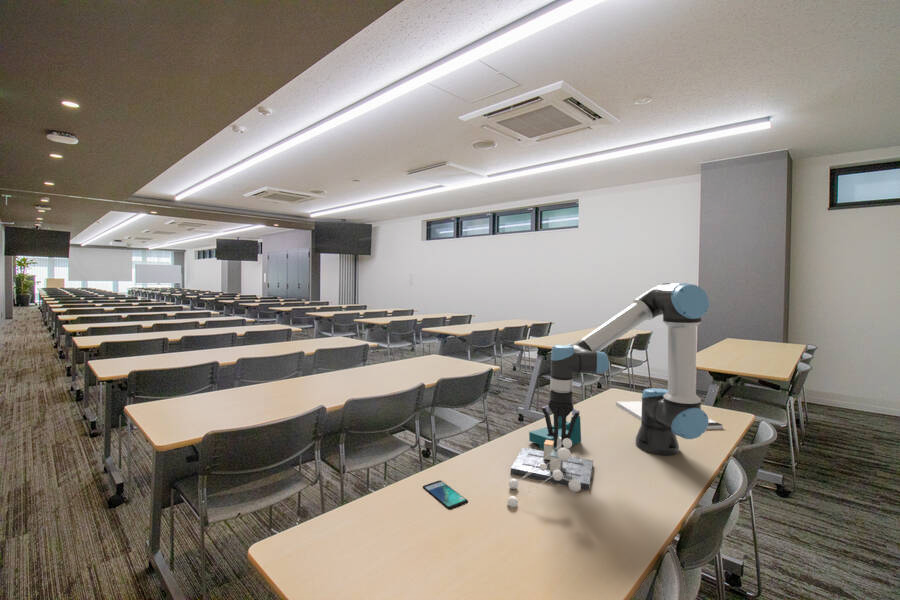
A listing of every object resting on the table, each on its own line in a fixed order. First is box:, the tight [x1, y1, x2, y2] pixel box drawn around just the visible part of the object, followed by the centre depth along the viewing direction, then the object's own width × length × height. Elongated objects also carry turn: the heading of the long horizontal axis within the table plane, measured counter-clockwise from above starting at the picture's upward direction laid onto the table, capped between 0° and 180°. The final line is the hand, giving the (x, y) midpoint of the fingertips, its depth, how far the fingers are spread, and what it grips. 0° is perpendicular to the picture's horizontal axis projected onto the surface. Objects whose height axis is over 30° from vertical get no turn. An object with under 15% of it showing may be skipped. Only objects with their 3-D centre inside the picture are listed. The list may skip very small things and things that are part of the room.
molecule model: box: [507, 438, 582, 508], centre depth 119 cm, size 14×25×18 cm, turn 98°
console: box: [510, 446, 594, 491], centre depth 136 cm, size 25×18×2 cm
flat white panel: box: [615, 400, 724, 430], centre depth 192 cm, size 35×2×31 cm
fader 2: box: [550, 450, 561, 472], centre depth 131 cm, size 3×4×5 cm
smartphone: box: [422, 480, 469, 510], centre depth 119 cm, size 7×1×15 cm
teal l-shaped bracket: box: [528, 413, 582, 451], centre depth 158 cm, size 18×11×10 cm, turn 124°
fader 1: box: [543, 440, 554, 460], centre depth 140 cm, size 3×4×5 cm
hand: (559, 455), depth 139 cm, fingers closed
